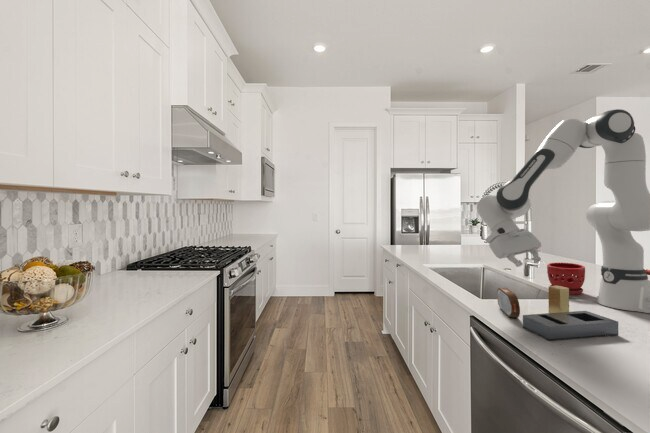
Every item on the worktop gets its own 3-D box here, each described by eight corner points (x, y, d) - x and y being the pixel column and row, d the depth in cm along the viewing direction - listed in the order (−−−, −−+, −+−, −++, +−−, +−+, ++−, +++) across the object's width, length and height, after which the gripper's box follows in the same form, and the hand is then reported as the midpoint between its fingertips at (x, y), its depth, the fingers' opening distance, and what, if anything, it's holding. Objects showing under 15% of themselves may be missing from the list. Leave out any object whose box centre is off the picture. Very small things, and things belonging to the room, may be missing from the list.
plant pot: (543, 287, 146) (543, 261, 145) (578, 289, 141) (578, 262, 140) (552, 295, 133) (552, 266, 133) (590, 297, 129) (590, 268, 128)
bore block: (585, 323, 101) (585, 310, 101) (618, 335, 91) (618, 321, 91) (522, 327, 99) (522, 315, 99) (549, 340, 89) (549, 326, 89)
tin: (521, 321, 104) (520, 295, 104) (510, 320, 105) (510, 295, 105) (504, 307, 119) (504, 284, 119) (495, 306, 120) (495, 284, 120)
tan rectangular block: (557, 313, 110) (557, 285, 110) (569, 317, 107) (568, 288, 106) (548, 315, 109) (548, 286, 109) (560, 319, 105) (560, 289, 105)
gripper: (519, 232, 128) (542, 262, 121) (481, 240, 121) (503, 272, 114) (531, 223, 124) (555, 253, 116) (491, 231, 117) (515, 264, 109)
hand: (529, 263), depth 115 cm, fingers open, 8 cm apart
